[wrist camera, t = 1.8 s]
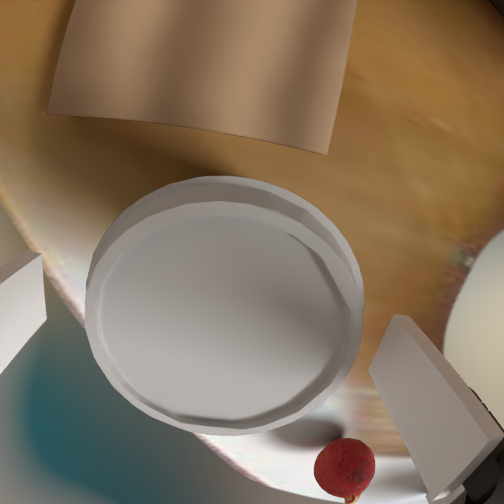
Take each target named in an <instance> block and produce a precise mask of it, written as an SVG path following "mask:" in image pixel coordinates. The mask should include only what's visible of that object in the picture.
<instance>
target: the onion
mask: <svg viewBox="0 0 504 504" xmlns="http://www.w3.org/2000/svg"><path fill="white" fill-rule="evenodd" d="M374 473H375V459H374V454H373V453H372V451H371V449H370V448H369V447H368V446H367V445H366V444H364V443H363V442H362V441H360V440H356V439H351V438H338V439H334V440H333V441H332V442H331V443H330V444H328V445H327V446H326V447H325V448H324V449H323V450H322V451H321V452H320V453H319V454H318V456H317V459H316V461H315V465H314V476H315V479H316V481H317V483H318V484H319V485H320V487H321V488H322V489H323V490H324V491H326V492H327V493H329V494H331V495H333V496H337V497H341V498H345V503H346V504H355V503H356V502H357V500H358V499H359V496H360V494H361V493H362V492H363V491H364V490H365V489H366V488H367V486H368V485H369V483H370V481H371V480H372V478H373V476H374Z"/></svg>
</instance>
